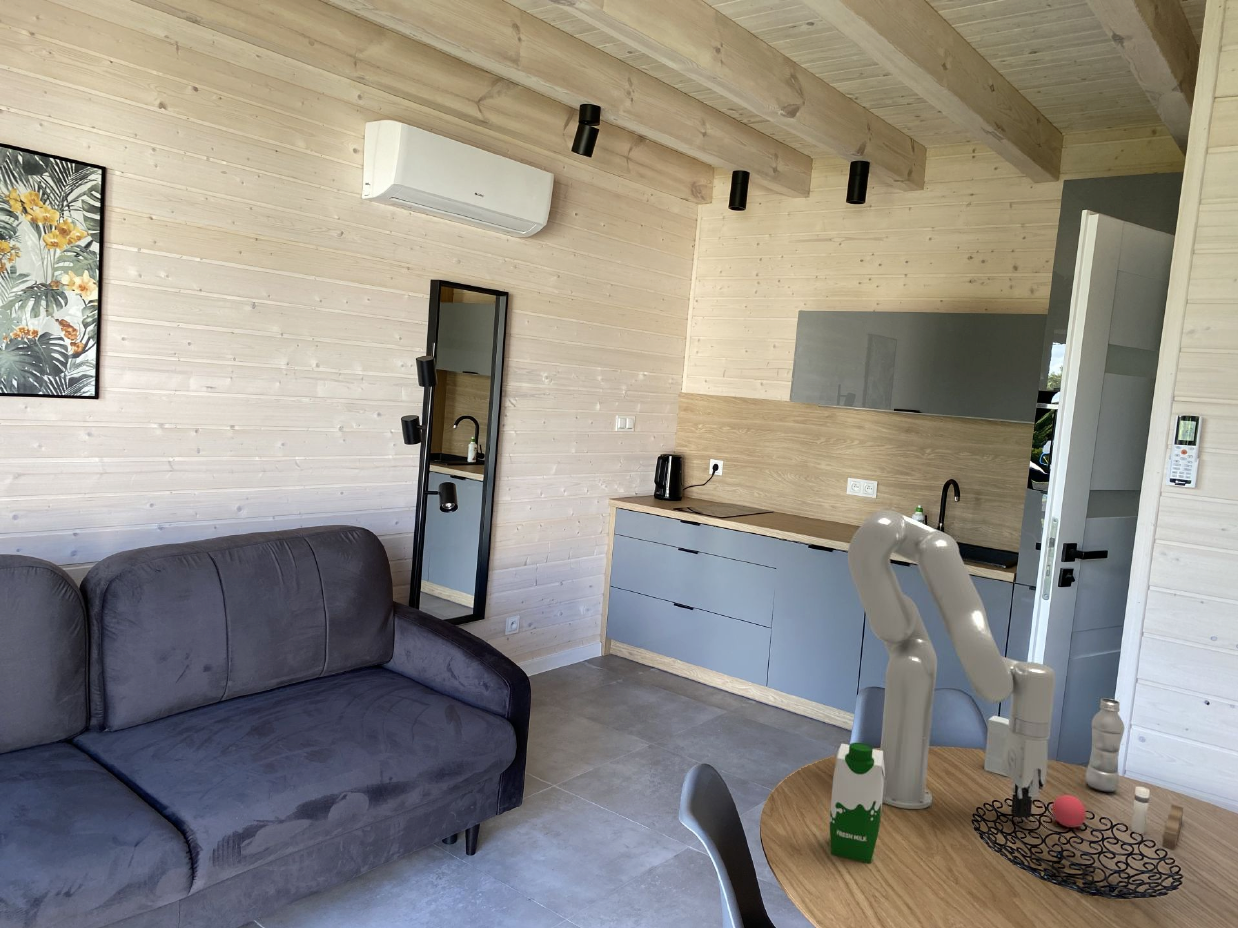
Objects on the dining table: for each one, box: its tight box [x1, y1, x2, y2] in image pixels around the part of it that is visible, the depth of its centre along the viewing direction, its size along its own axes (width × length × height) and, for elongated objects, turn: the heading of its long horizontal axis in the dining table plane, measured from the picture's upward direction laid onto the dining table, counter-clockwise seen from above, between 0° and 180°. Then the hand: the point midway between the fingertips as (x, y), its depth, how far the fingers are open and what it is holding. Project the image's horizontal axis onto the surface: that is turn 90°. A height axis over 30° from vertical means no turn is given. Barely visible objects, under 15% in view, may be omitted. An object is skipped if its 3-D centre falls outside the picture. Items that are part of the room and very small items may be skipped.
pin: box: [1130, 785, 1150, 835], centre depth 177 cm, size 2×2×9 cm
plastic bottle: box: [1085, 697, 1125, 793], centre depth 196 cm, size 6×7×20 cm
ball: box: [1051, 794, 1087, 828], centre depth 177 cm, size 6×6×6 cm
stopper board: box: [1162, 804, 1184, 851], centre depth 177 cm, size 16×2×3 cm, turn 143°
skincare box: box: [983, 715, 1009, 778], centre depth 203 cm, size 6×4×12 cm
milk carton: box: [829, 742, 885, 864], centre depth 161 cm, size 9×9×20 cm
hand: (1020, 815), depth 177 cm, fingers closed
